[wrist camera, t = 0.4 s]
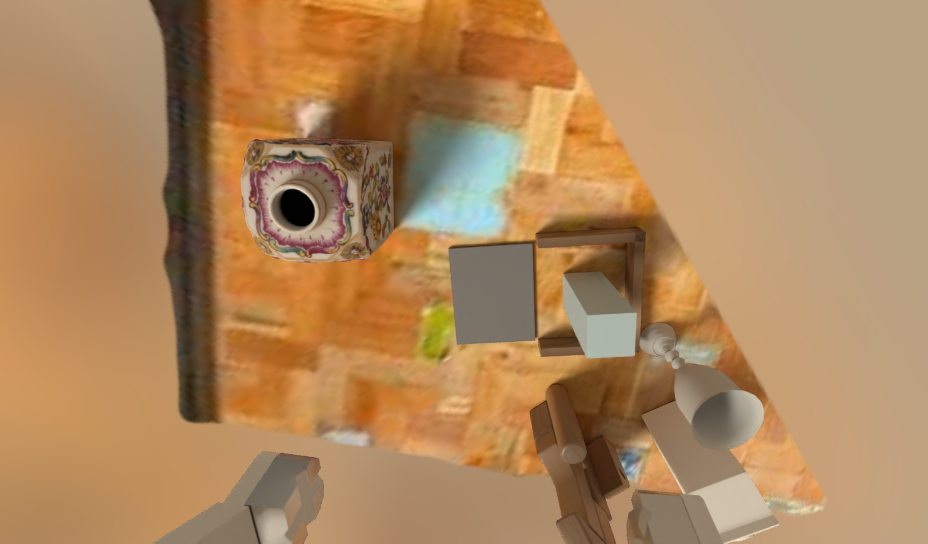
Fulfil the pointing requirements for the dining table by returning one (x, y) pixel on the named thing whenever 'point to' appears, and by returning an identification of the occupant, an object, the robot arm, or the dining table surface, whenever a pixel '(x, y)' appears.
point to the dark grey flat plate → (493, 293)
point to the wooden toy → (577, 470)
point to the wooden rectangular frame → (632, 283)
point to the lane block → (599, 315)
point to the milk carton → (710, 476)
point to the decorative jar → (318, 197)
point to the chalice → (706, 395)
